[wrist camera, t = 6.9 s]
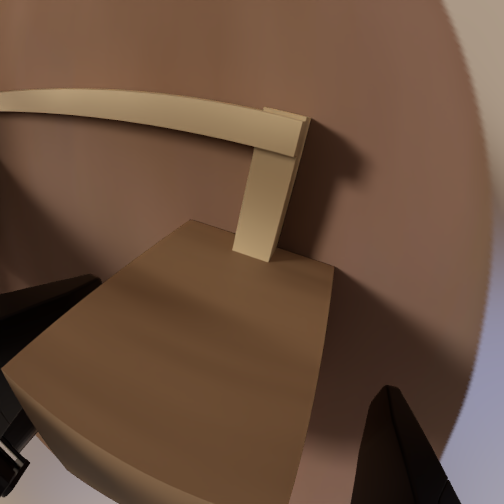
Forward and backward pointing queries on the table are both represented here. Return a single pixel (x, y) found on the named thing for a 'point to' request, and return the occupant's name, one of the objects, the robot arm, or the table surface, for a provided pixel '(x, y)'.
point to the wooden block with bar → (187, 332)
